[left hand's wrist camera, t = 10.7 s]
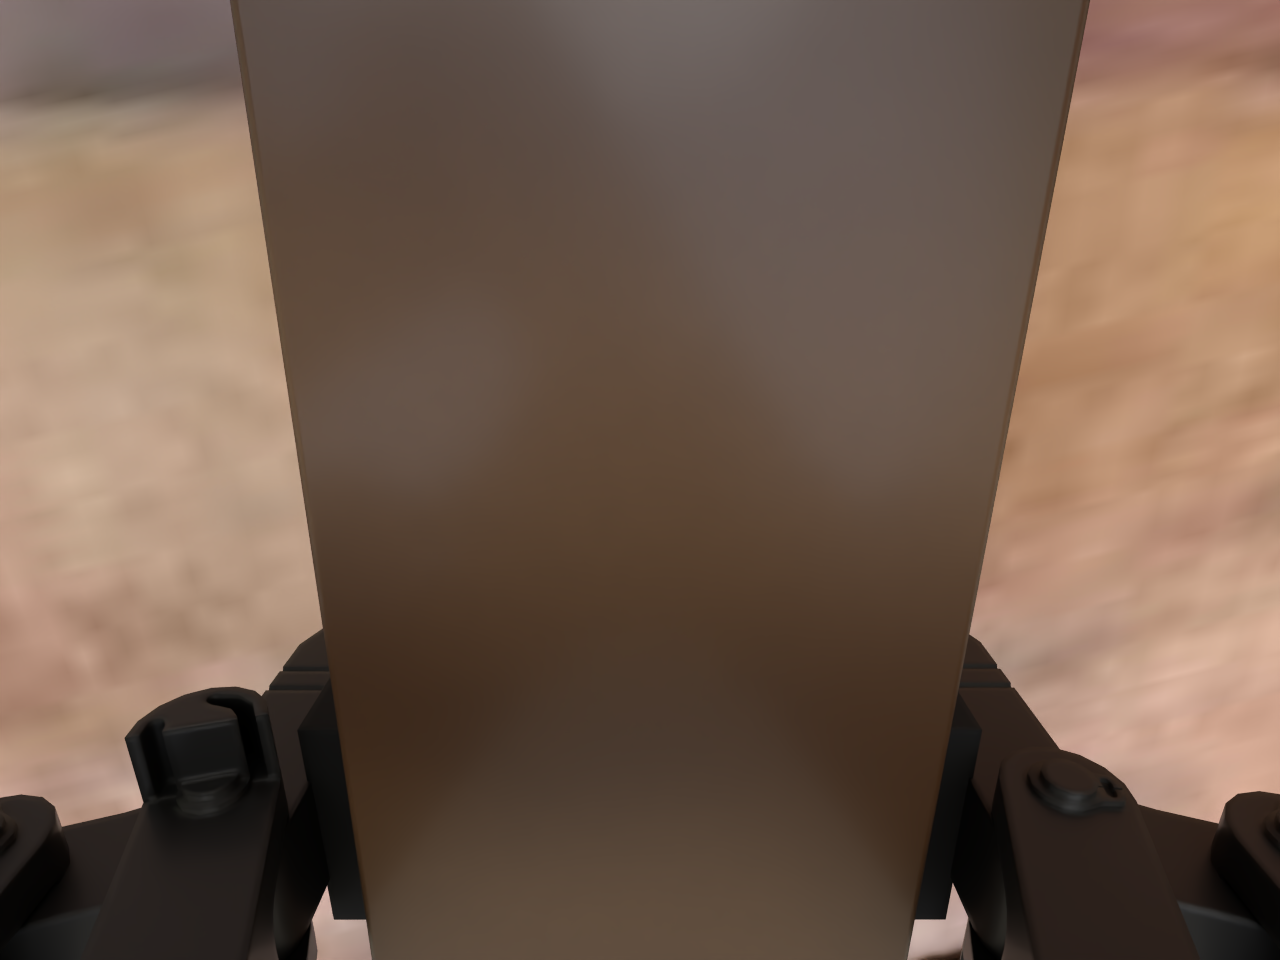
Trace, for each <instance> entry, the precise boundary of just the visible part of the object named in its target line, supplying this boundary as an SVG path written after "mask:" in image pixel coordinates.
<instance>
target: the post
mask: <svg viewBox="0 0 1280 960" xmlns="http://www.w3.org/2000/svg"><path fill="white" fill-rule="evenodd" d="M230 3H231V10H232V17H233V24H234V30H235V37H236V44H237V51H238V57H239V64H240V71H241V78H242V84H243V91H244V98H245V105H246V111H247V118H248V125H249V132H250V138H251V145H252V152H253V159H254V165H255V172H256V179H257V186H258V192H259V199H260V206H261V213H262V219H263V226H264V233H265V240H266V246H267V253H268V260H269V267H270V273H271V280H272V287H273V294H274V300H275V307H276V314H277V321H278V327H279V334H280V341H281V348H282V354H283V361H284V368H285V375H286V381H287V388H288V395H289V402H290V408H291V415H292V422H293V429H294V435H295V442H296V449H297V456H298V462H299V469H300V476H301V483H302V489H303V496H304V503H305V510H306V516H307V523H308V530H309V537H310V543H311V550H312V557H313V564H314V570H315V577H316V584H317V591H318V597H319V604H320V611H321V618H322V625H323V631H324V638H325V645H326V652H327V658H328V665H329V672H330V679H331V685H332V692H333V699H334V706H335V712H336V719H337V726H338V733H339V739H340V746H341V753H342V760H343V766H344V773H345V780H346V787H347V793H348V800H349V807H350V814H351V820H352V827H353V834H354V841H355V847H356V854H357V861H358V868H359V874H360V881H361V888H362V895H363V901H364V908H365V915H366V922H367V928H368V935H369V942H370V949H371V955H372V960H907V957H908V952H909V946H910V941H911V936H912V931H913V925H914V920H915V915H916V910H917V904H918V899H919V894H920V889H921V883H922V878H923V873H924V868H925V863H926V857H927V852H928V847H929V842H930V836H931V831H932V826H933V821H934V815H935V810H936V805H937V800H938V794H939V789H940V784H941V779H942V773H943V768H944V763H945V758H946V752H947V747H948V742H949V737H950V731H951V726H952V721H953V716H954V710H955V705H956V700H957V695H958V690H959V684H960V679H961V674H962V669H963V663H964V658H965V653H966V648H967V642H968V637H969V632H970V627H971V621H972V616H973V611H974V606H975V600H976V595H977V590H978V585H979V579H980V574H981V569H982V564H983V558H984V553H985V548H986V543H987V537H988V532H989V527H990V522H991V517H992V511H993V506H994V501H995V496H996V490H997V485H998V480H999V475H1000V469H1001V464H1002V459H1003V454H1004V448H1005V443H1006V438H1007V433H1008V427H1009V422H1010V417H1011V412H1012V406H1013V401H1014V396H1015V391H1016V385H1017V380H1018V375H1019V370H1020V364H1021V359H1022V354H1023V349H1024V344H1025V338H1026V333H1027V328H1028V323H1029V317H1030V312H1031V307H1032V302H1033V296H1034V291H1035V286H1036V281H1037V275H1038V270H1039V265H1040V260H1041V254H1042V249H1043V244H1044V239H1045V233H1046V228H1047V223H1048V218H1049V212H1050V207H1051V202H1052V197H1053V192H1054V186H1055V181H1056V176H1057V171H1058V165H1059V160H1060V155H1061V150H1062V144H1063V139H1064V134H1065V129H1066V123H1067V118H1068V113H1069V108H1070V102H1071V97H1072V92H1073V87H1074V81H1075V76H1076V71H1077V66H1078V60H1079V55H1080V50H1081V45H1082V39H1083V34H1084V29H1085V24H1086V19H1087V13H1088V8H1089V3H1090V0H230Z"/></svg>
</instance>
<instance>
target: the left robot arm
mask: <svg viewBox="0 0 1280 960" xmlns="http://www.w3.org/2000/svg"><path fill="white" fill-rule="evenodd" d="M269 687H270V688H269V690H266V691H265V692H264V694H263V695H262V696H260V695H259V694H258V693H257V692H256V691H253V690H249V689H244V688H240V687H220V688H209V689H205V690H201V691H197V692H193V693H190V694H186V695H183V696H181V697H179V698H176V699H174V700H172V701H170V702H167V703H165V704H163V705H161V706H159V707H157V708H156V709H154V710H153V711H152V712H150V713H149V714H147V715H146V716H145V717H143V718H142V719H140V720H139V721H138V722H137V723H136V724H135V725H134V727H133V728H132V729H131V731H130V732H129V733H128V734H127V736H126V737H125V741H126V744H127V748H128V751H129V755H130V758H131V761H132V765H133V768H134V772H135V775H136V778H137V782H138V785H139V789H140V792H141V795H142V799H143V802H144V803H143V805H142V808H139V809H136V810H132V811H129V812H125V813H121V814H117V815H113V816H108V817H104V818H99V819H95V820H90V821H86V822H82V823H77V824H73V825H68V826H64V827H62V826H61V823H60V820H59V818H58V815H57V812H56V809H55V807H54V806H53V805H52V804H51V803H49V802H48V801H47V800H45V799H44V798H43V797H36V796H28V795H15V796H9V797H3V798H0V960H317V945H316V938H315V932H314V927H313V922H312V918H313V916H314V914H315V911H316V909H317V907H318V905H319V902H320V900H321V898H322V896H323V893H324V891H325V889H326V887H327V886H328V891H329V896H330V902H331V907H332V912H333V917H334V920H361V919H366V915H365V908H364V901H363V895H362V888H361V881H360V874H359V868H358V861H357V854H356V847H355V841H354V834H353V827H352V820H351V814H350V807H349V800H348V793H347V787H346V780H345V773H344V766H343V760H342V753H341V746H340V739H339V733H338V726H337V719H336V712H335V706H334V699H333V692H332V685H331V679H330V672H329V665H328V658H327V652H326V645H325V638H324V631H323V629H322V630H320V631H319V632H317V633H316V634H314V635H313V636H311V637H310V638H309V639H307V640H306V641H304V642H303V643H301V644H300V645H299V646H298V648H297V649H296V650H295V652H294V653H293V654H292V656H291V657H290V658H289V660H288V661H287V662H286V664H285V665H284V667H283V671H280V672H279V673H278V675H277V676H276V677H275V679H274V680H273V681H272V683H271V684H270V686H269ZM952 883H953V884H954V886H955V888H956V891H957V893H958V895H959V897H960V900H961V902H962V904H963V906H964V909H965V911H966V913H967V915H968V922H967V927H966V932H965V937H964V941H963V946H962V951H961V956H960V960H1280V794H1274V793H1268V792H1261V791H1257V792H1249V793H1241V794H1237V795H1236V796H1234V797H1233V798H1232V799H1231V800H1229V801H1228V802H1227V803H1226V804H1225V807H1224V810H1223V813H1222V816H1221V818H1220V821H1219V824H1218V823H1213V822H1209V821H1204V820H1200V819H1195V818H1191V817H1186V816H1182V815H1178V814H1173V813H1169V812H1164V811H1160V810H1156V809H1152V808H1149V807H1145V806H1142V805H1138V804H1137V801H1136V800H1135V799H1134V797H1133V796H1132V794H1131V793H1130V791H1129V790H1128V788H1127V787H1126V785H1125V784H1124V783H1123V782H1122V781H1120V780H1119V779H1118V778H1117V777H1116V776H1114V775H1113V774H1112V773H1111V772H1109V771H1108V770H1107V769H1106V768H1104V767H1102V766H1100V765H1098V764H1096V763H1095V762H1093V761H1091V760H1089V759H1087V758H1085V757H1083V756H1081V755H1078V754H1074V753H1071V752H1067V751H1064V750H1060V749H1059V748H1058V746H1057V745H1056V744H1055V742H1054V741H1053V739H1052V738H1051V737H1050V735H1049V734H1048V733H1047V731H1046V730H1045V729H1044V727H1043V726H1042V725H1041V723H1040V722H1039V721H1038V719H1037V718H1036V717H1035V715H1034V714H1033V712H1032V711H1031V710H1030V708H1029V707H1028V706H1027V704H1026V703H1025V702H1024V700H1023V699H1022V698H1021V696H1020V695H1019V694H1018V692H1017V691H1016V690H1015V688H1011V683H1010V681H1009V680H1008V679H1007V677H1006V676H1005V675H1004V673H1003V672H1002V671H1001V669H997V664H996V663H995V661H994V660H993V658H992V657H991V656H990V654H989V653H988V652H987V650H986V649H985V648H984V646H983V645H982V644H981V642H980V641H978V640H977V639H975V638H974V637H972V636H971V635H969V637H968V642H967V648H966V653H965V658H964V663H963V669H962V674H961V679H960V684H959V690H958V695H957V700H956V705H955V710H954V716H953V721H952V726H951V731H950V737H949V742H948V747H947V752H946V758H945V763H944V768H943V773H942V779H941V784H940V789H939V794H938V800H937V805H936V810H935V815H934V821H933V826H932V831H931V836H930V842H929V847H928V852H927V857H926V863H925V868H924V873H923V878H922V883H921V889H920V894H919V899H918V904H917V910H916V915H915V919H946V914H947V909H948V904H949V899H950V894H951V889H952Z"/></svg>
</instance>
